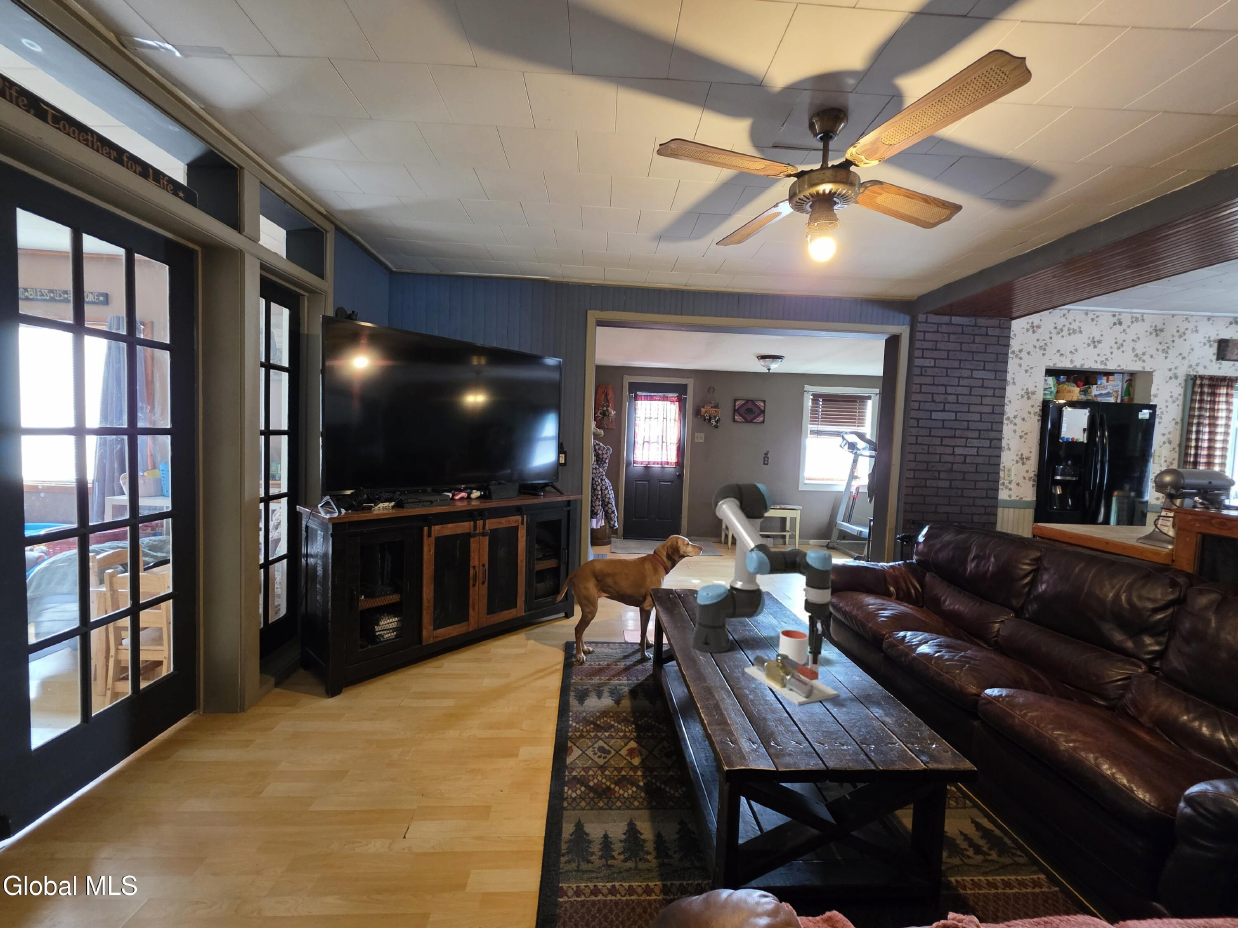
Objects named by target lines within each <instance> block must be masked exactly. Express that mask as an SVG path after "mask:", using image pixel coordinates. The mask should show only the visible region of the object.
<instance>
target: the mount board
mask: <svg viewBox="0 0 1238 928" xmlns="http://www.w3.org/2000/svg"><path fill="white" fill-rule="evenodd" d="M744 672H745V673H747V674H748V675H750V676H752V677H753V678H755V679H756V680H758V681H759V682H761V683H763V684H764V685H766V686H767V687H769V688H770V689H772V690H773V691H775V692H776V693H778V694H780V695H781V696H782V697H785V699H787V700H788V701H790V702H792V703H793V704H795V705H796V706H799V705H804V704H809V703H815V702H817V701H822V700H827V699H832V698H835V697H839V692H838V691H836V690H834V689H833V688H831V687H829V686H828V685H825V684H823V683H822V682H820V681H818V680H812V681H810V680H809V679H807V678H805V677H803V676H802V675H800V674H799V675H800V676H801V679H802V680H804V681H806V682H808V683H809V684H811V685H812V686H813V694H812V695H811V696H810V697H809V698H805V697H803V696H802V695H800V694H799V693H797V692H795V691H794V690H788V689H787V688H786V687H782V688H780V687H778V686H777V685H775V684H773V683H772V682H770V681H769V680H767V679H766V676H765V675H764V674H763V671H761V670H760V669H758V668H756V667H755V666H754V665H753V666H750V667H749V666H748V667H744ZM797 674H798V673H797Z"/></svg>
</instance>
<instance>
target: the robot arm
mask: <svg viewBox="0 0 1238 928" xmlns="http://www.w3.org/2000/svg"><path fill="white" fill-rule="evenodd" d="M771 495H772V494H771V492H770V491H769V488H768V487H767V486H766V485H765V484H763V483H758V482H757V483H755V482H737V483H736V482H727V483H724V484H722V485H720V486H719V487H717V489H716V490H715V492H714V493H713V496H712V499H711V500H712V501H711V505H712V510H713V512H714V514H715V515H716V516H717V517H718V519H721V520H723V522H724V523H725V525H726V526H727V528H728V529H729V531H730V532H731V533H732V535H733V537H734V538H735V539H736V542H735V543H736V544H735V545H736V546H735V558H734V559H735V561H734V575H733V579H732V580H731V581H729V588H728V587H727V586H726V585H723V584H714V583H713V584H712V583H711V584H706V585H704V586H703V585H702V586H701V587H700V588H699V589H698V591H697V597H696V603H697V604H696V625H695V628H694V631H693V633H692V636H691V640H690V641H691V642H690V645H691V647H693V648H694V649H696V650H698V651H701V652H705V653H713V654H717V653H724V652H727V651H729V650H730V647H731V641H730V637H729V633H728V629H727V620H732V619H733V620H734V619H751V618H757V617H759V616H760V615H761V614H762V613H763V612H764V608H765V606H766V605H765V604H766V598H765V593H764V591H763V590H762V589H761V588H760V584H759V583H758V582H757V575H759V576H765V575H766V576H768V575H769V576H771V575H784V574H785V575H789V574H791V575H792V574H793V575H794V574H798V575H800V576H803V577H805V587H804V588H803V589H802V590H803V592H804V606H803V609H804V610H803V611H805V612H806V613H808V616H807V618H808V654H809V656H808V657H809V660H808V667H809V668H810V669H812V670H814V671H816V672H818V673H819V668H820V667H819V666H820V656H821V655H822V647H823V642H824V641H823V639H824V633H825V628H824V625H825V621H824V619H823V616H828V615H829V614H830V611H831V610H830V609H831V603H830V601H831V592H832V587H831V586H832V573H833V567H834V566H833V556H832V553H831V552H829V551H827V550H822V549H814V548H813V549H809V550H807V551H804V550H803V549H800V548H796V547H789V548H787V549H785V550H772V549H771V548H770V547H769V545H767V543H766V542H765V540H764V539H763V538H762V536H761V535H760V531H761V530H760V529H761V522H762V521H763V520H765V514H767V513H769V512H770V511H771V509H772V505H773V503H772V502H773V500H772V496H771Z"/></svg>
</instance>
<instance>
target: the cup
mask: <svg viewBox="0 0 1238 928" xmlns="http://www.w3.org/2000/svg"><path fill="white" fill-rule="evenodd" d="M808 644H809V634H807V633H805V632H803V631H800V630H795V629H784V630H781V631H780V632H779V646H778V647H779V648H778V654H785V655H788V656H789V658H790V659H792V660H794V661H796V662H797V663H799V664H801V665H805V664H806V663H807V661H808V654H809V645H808Z"/></svg>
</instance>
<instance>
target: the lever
mask: <svg viewBox="0 0 1238 928" xmlns="http://www.w3.org/2000/svg"><path fill="white" fill-rule="evenodd" d="M775 660H776V661H777V662H778V663H781V664H785V665H786V666H788V667H790V668H792V669H793V670H795V671H797V673H798V674H800V675H802V676H803V677H805V678H807V679H809V680H810V681H812V680H816V681H818V680H819V676H820V675H819V671H818V672H816V671H814V670H812V669H810V668H809V666H807V665H805V664H803V665H801V664H799V663H797V662H796V661H794V660H792V659H790V658H789V656H788V655H785V654H779V653H776V656H775Z"/></svg>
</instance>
